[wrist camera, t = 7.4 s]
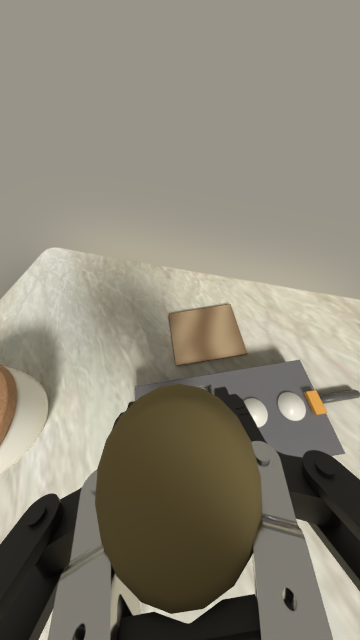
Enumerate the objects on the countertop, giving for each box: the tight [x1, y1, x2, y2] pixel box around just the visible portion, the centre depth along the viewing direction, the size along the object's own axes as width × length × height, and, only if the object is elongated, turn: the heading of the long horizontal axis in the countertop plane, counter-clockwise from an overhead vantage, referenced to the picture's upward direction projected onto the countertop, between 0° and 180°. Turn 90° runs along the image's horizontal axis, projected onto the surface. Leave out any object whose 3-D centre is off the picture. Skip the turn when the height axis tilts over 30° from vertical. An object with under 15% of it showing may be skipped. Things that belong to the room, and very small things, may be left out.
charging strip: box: [135, 360, 360, 457], centre depth 21 cm, size 29×10×4 cm, turn 98°
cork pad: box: [169, 304, 247, 366], centre depth 28 cm, size 11×9×1 cm
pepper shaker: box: [95, 384, 262, 614], centre depth 9 cm, size 6×6×11 cm
